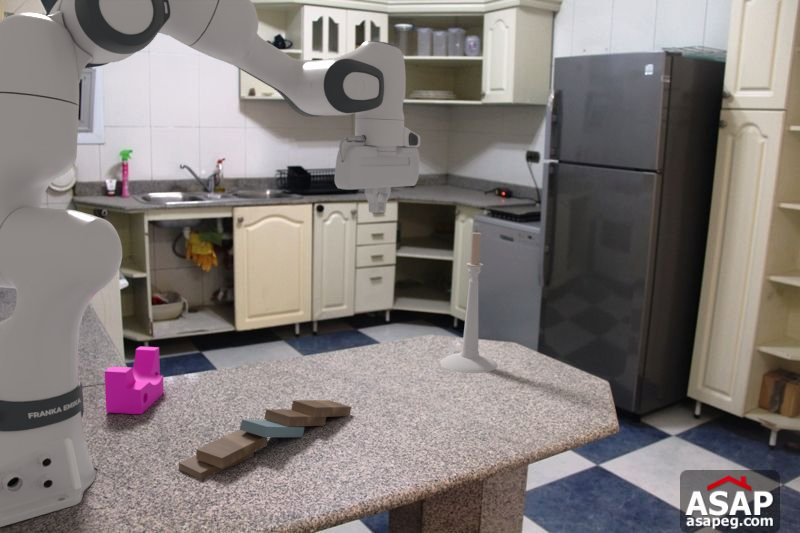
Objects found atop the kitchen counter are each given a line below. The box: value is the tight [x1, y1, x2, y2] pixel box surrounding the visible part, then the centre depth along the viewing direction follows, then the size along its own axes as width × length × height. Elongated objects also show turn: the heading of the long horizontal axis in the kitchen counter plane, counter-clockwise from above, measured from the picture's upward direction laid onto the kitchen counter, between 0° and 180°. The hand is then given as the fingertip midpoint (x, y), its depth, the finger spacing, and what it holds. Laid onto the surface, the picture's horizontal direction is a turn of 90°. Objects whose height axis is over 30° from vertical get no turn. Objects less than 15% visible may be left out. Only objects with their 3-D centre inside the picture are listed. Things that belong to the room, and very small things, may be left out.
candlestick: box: [439, 230, 499, 374], centre depth 155 cm, size 13×13×30 cm
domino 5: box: [291, 399, 352, 418], centre depth 126 cm, size 2×5×10 cm
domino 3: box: [239, 418, 306, 438], centre depth 116 cm, size 2×5×10 cm
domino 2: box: [178, 452, 255, 481], centre depth 109 cm, size 2×5×10 cm
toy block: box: [104, 346, 165, 415], centre depth 133 cm, size 15×6×8 cm, turn 177°
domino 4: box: [263, 408, 327, 427], centre depth 121 cm, size 2×5×10 cm
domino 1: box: [195, 428, 268, 468], centre depth 110 cm, size 2×5×10 cm
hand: (377, 212), depth 133 cm, fingers closed
